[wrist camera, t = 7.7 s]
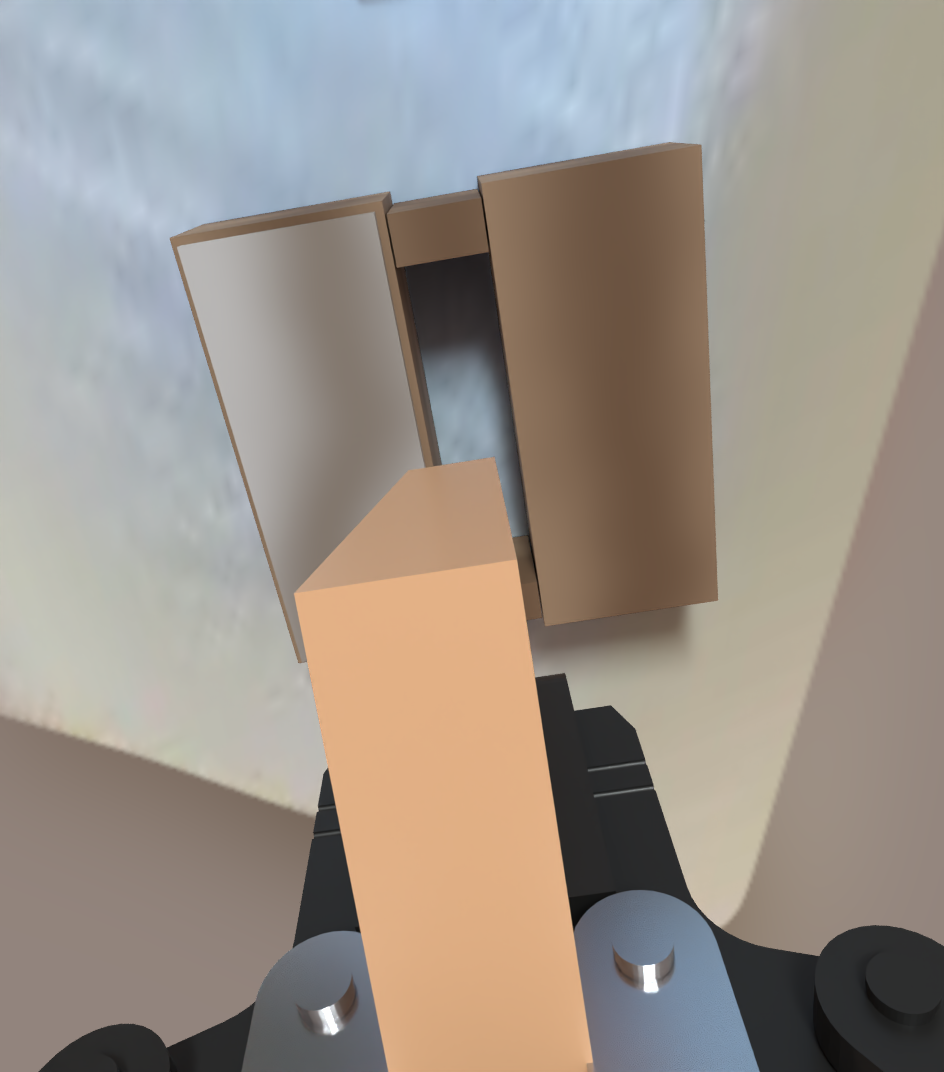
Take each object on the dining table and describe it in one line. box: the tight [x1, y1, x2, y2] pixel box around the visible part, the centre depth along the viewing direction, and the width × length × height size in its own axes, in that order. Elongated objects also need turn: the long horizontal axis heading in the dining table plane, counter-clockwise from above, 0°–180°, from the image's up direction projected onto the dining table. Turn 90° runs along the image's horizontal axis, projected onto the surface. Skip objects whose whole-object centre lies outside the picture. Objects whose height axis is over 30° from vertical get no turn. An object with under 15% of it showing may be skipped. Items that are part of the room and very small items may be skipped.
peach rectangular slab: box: [294, 457, 593, 1072], centre depth 11 cm, size 2×8×9 cm, turn 9°
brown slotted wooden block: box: [170, 142, 718, 663], centre depth 23 cm, size 12×12×3 cm
